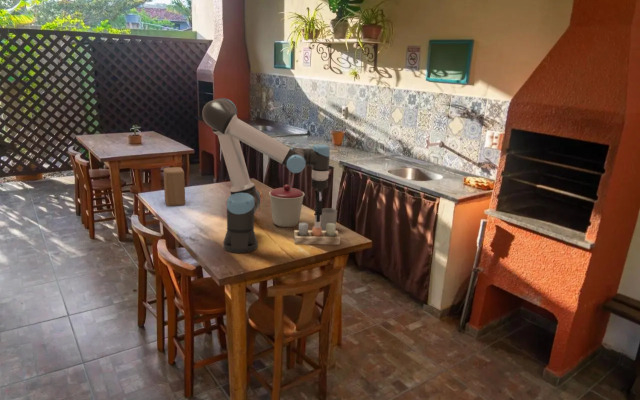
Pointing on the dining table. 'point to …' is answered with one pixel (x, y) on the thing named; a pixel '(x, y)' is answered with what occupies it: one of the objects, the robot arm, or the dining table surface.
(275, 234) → the dining table surface
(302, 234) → the grey egg
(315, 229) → the brown egg
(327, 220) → the cup
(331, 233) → the pale green egg
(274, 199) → the canister
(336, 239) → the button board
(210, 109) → the robot arm
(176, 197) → the block
